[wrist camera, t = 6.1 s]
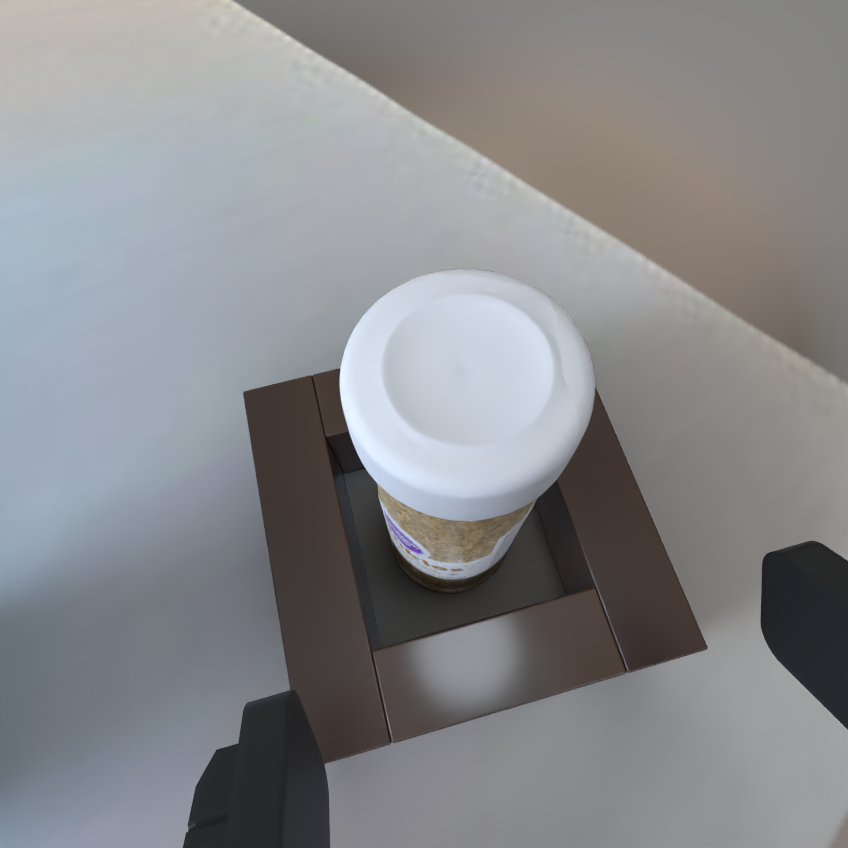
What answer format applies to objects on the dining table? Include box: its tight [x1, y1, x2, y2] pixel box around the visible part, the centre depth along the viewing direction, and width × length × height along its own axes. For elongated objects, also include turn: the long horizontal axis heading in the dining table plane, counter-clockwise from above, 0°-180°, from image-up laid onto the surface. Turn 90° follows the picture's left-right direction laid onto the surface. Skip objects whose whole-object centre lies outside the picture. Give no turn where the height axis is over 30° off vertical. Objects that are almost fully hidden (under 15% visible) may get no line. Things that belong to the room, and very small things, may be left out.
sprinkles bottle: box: [340, 269, 595, 593], centre depth 16 cm, size 5×5×14 cm
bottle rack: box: [243, 368, 707, 764], centre depth 20 cm, size 12×12×4 cm
